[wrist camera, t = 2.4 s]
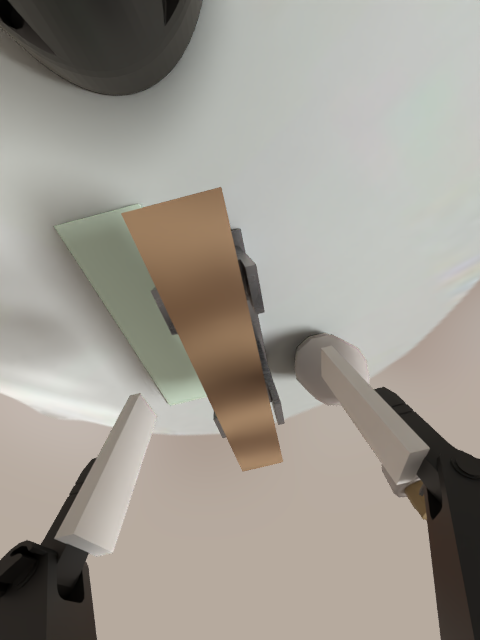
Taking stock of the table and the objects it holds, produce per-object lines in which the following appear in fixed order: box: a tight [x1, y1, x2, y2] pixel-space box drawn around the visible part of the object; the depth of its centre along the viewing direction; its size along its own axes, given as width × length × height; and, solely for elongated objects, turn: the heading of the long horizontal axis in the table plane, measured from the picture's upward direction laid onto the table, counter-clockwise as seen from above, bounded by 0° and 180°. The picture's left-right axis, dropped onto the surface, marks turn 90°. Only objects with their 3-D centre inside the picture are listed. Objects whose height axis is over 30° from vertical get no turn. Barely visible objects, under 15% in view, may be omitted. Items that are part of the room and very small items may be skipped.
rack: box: [151, 229, 284, 438], centre depth 18 cm, size 18×7×10 cm, turn 13°
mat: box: [54, 204, 207, 406], centre depth 23 cm, size 26×8×1 cm, turn 13°
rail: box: [121, 187, 283, 471], centre depth 14 cm, size 22×4×4 cm, turn 13°
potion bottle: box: [295, 333, 427, 520], centre depth 19 cm, size 9×9×18 cm
